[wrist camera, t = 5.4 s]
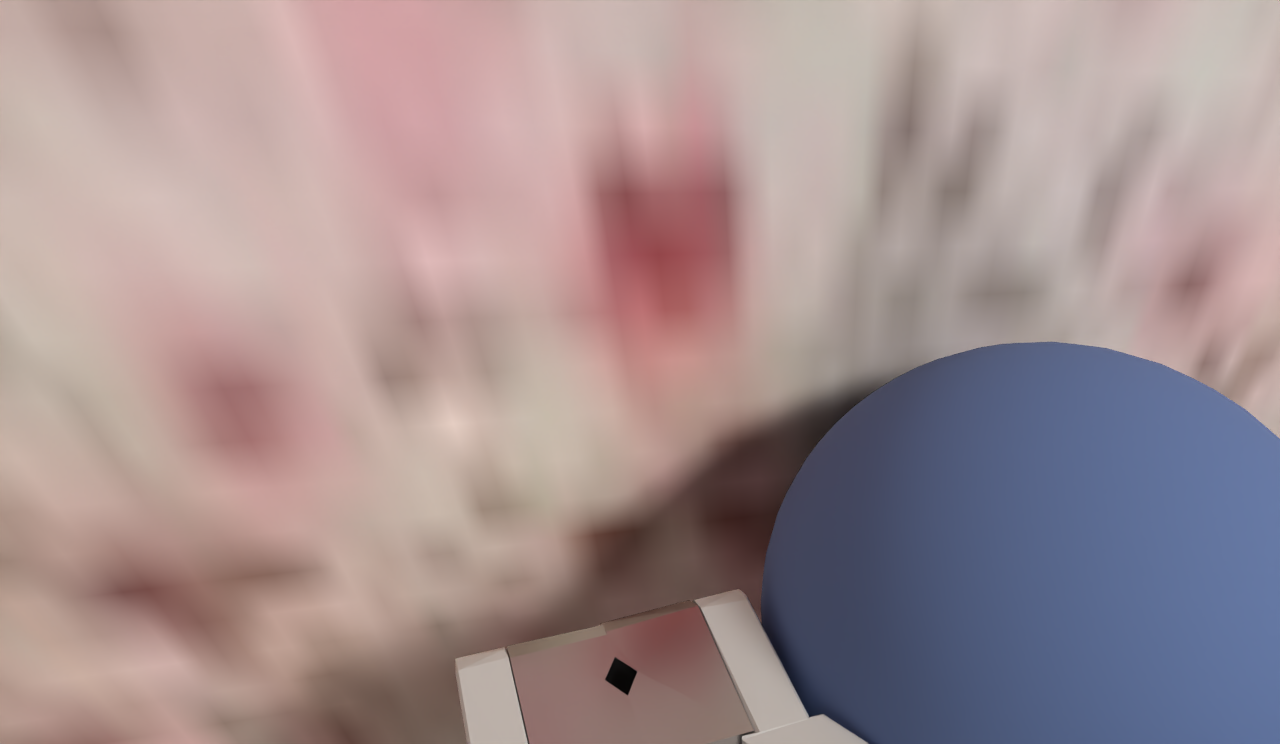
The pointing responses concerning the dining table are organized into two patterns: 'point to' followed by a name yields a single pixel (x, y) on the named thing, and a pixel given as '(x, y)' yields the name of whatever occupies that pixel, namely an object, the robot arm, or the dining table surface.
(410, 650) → the dining table surface
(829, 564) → the ball
